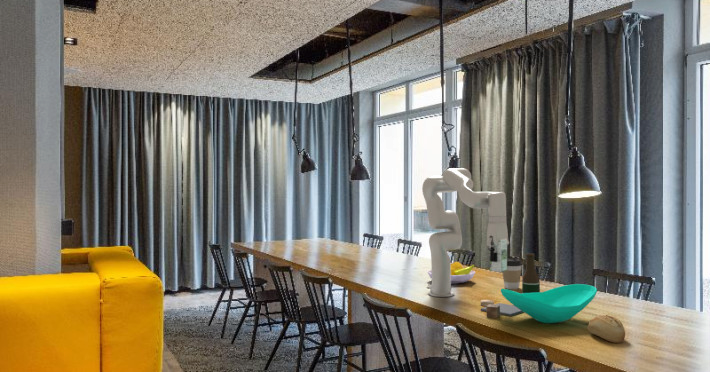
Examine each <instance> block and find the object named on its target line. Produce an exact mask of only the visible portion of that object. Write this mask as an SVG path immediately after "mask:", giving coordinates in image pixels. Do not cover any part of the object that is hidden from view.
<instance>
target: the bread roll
mask: <svg viewBox="0 0 710 372" xmlns="http://www.w3.org/2000/svg"><path fill="white" fill-rule="evenodd" d="M587 325H588V326H587V329H588V331H589V332H590V333H591V335H595V336H597V337H599V338H601V339H604V340H606V341H608V342H610V343H614V344H620V343H622V342H624V340H625V338H626V330H625V327H624V325H623V322H622V321H621V320H620V319H618V318H616V317H615V316H611V315H607V314H605V315H599V316H595V317H593V318H591V319H590V320H589V323H588V324H587Z"/></svg>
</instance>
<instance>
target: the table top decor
mask: <svg viewBox="0 0 710 372" xmlns="http://www.w3.org/2000/svg"><path fill="white" fill-rule="evenodd" d="M597 292H598V289H597V287H595V286H593V285H589V284H583V283H582V284H581V283H574V284H565V285H561V286H557V287H553V288H550V289H548V290H545V291H540V292H536V293H522V292H521V293H520V292H517V291H514V290H513V289H506V288H501V289H500V293H501V295H502V296H503V297H504V299H506V300H507V302H509V303H510V304H511V305H514V306H516V307H517V308H519V309H520V310H522V311H523V313H525V314H526V315H527V316H529V317H531V319H534V320H535V321H537V322H540V323H545V324H556V323H562V322H566V321H568V320H571V319H572V318H573V317H575V316H576V315H577V314H579V313H580V312H582V311H583V310H584V309H585V308H586V307H587V306H588V305H589V304H590V303H591V302H593V300H594V298H595V297H596V294H597Z"/></svg>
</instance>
